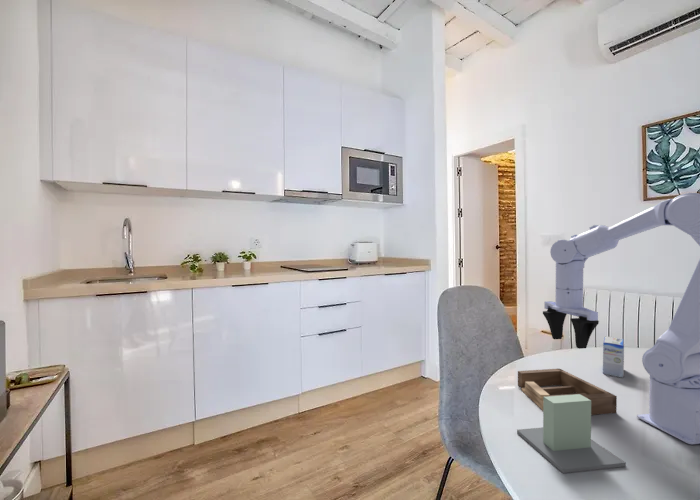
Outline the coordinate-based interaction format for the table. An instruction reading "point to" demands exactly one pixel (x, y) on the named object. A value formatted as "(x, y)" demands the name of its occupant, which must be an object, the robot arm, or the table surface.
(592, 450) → the mat
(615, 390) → the table surface
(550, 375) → the rack
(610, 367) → the medicine box
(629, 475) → the table surface
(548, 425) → the panel
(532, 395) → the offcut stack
